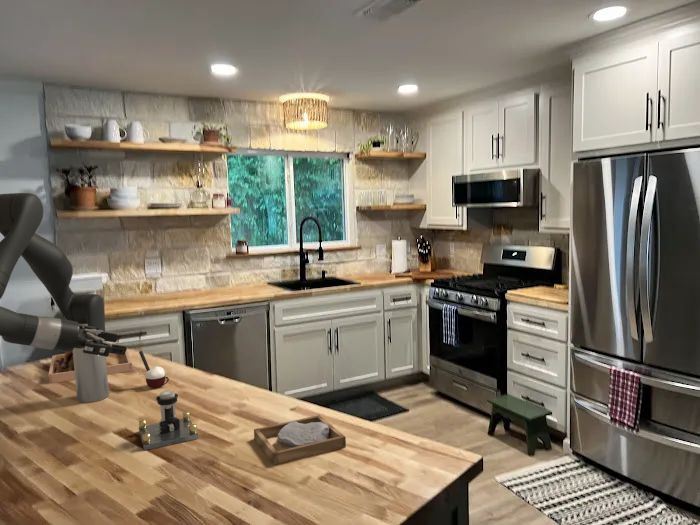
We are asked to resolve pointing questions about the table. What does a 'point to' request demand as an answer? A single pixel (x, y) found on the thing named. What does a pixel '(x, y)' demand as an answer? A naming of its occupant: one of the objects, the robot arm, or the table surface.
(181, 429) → the plate
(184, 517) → the table surface
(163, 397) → the push button
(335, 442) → the block coaster frame
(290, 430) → the stone block
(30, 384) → the table surface
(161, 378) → the cocoa
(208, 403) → the table surface
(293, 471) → the table surface
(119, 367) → the wooden tray
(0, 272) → the robot arm
